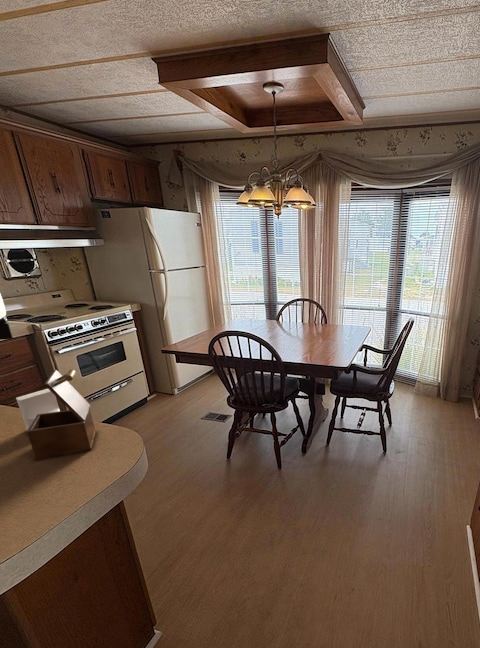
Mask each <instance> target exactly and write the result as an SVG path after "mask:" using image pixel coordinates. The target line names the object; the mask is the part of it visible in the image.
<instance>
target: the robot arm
mask: <svg viewBox="0 0 480 648" xmlns="http://www.w3.org/2000/svg"><path fill="white" fill-rule="evenodd" d="M13 338H14V337H13V333H12V331H11V327H10V323H9V319H8V318H7V309H6V307H5V302H4V299H3V296H2V293H1V292H0V340H12V339H13Z"/></svg>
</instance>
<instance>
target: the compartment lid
mask: <svg viewBox="0 0 480 648" xmlns="http://www.w3.org/2000/svg"><path fill="white" fill-rule="evenodd" d="M76 374H77V371H76V370H75V369H69V370H68V371H67V373H64V375H63V374H61V373H60V372H59V371H58V370H57V369H55V370H53V371H52V372H51V374H50V375H49V377H48V379H47V380H46V381H45V383H44V386H45V387H46V389H49V390H50V391H51V392H52V393H53V394H54V395H55V396H56V399H58V400H59V401H60V402H61V403H62V404H63V405H64V406H65V407H66V408H67V410H70V411H71V412H72V413H73V414H74V415H75V416H76V417H77V418H78V419H79V420H80V421H81V422H84V421H85V419H86V416H87V413H88V410H89V408H90V407H91V404H90V403H89V402H88V401H87V400H86V399H85V398H84V396H82V395H81V394H80V392H78V391H77V390H76V388H74V387H73V385H72V384H71V383H70V382H71V381H72V380H73V379H74V378H75V376H76Z"/></svg>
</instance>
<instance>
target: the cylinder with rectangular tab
mask: <svg viewBox="0 0 480 648" xmlns="http://www.w3.org/2000/svg"><path fill="white" fill-rule="evenodd" d="M15 399H16V402H17V405H18V408H19V411H20V414H21V417H22V420H23V423H24V426H25V428H26V431H27V430H28V429H29V427H30V426H31V424H32V422H33V421H34V419H35V418H36V416H37V414H44V413H51V412H58V411H61V410H60V407H59V404H58V400H57V399H58V398H57V397H56V396H55V395H54V394H53V393H52V392H51V391H50V390H49V389H48V388H44V389H42V390H38V391H35V392H31V393H28V394H25V395H20V396H17V397H15Z"/></svg>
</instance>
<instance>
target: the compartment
mask: <svg viewBox="0 0 480 648" xmlns="http://www.w3.org/2000/svg"><path fill="white" fill-rule="evenodd" d="M94 424H95V423H94V420H93V417H92V413H91V408H90V407H89V410H88V413H87V416H86V419H85V421H84V422H81V421H80V420H79V419H78V418H77V417H76V416H75V415H74V414H73V413H72V412H71V411H70V410H69V409H65V410H60V411H58V412H51V413H44V414H37V416H36V418H35V419H34V421H33V422H32V424H31V426H30V427H29V429H28V430H27V429H26V435H27V436H28V439H29V442H30V445H31V449H32V451H33V454H34V457H35V460H36V461H37V460H42V459H43V460H44V459H48V458H54V457H59V456H65V455H70V454H75V453H82V452H87V451H88V452H89V451H92V448H93V444H94V440H95V436H96V433H97V431H96V428H95V425H94Z"/></svg>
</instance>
